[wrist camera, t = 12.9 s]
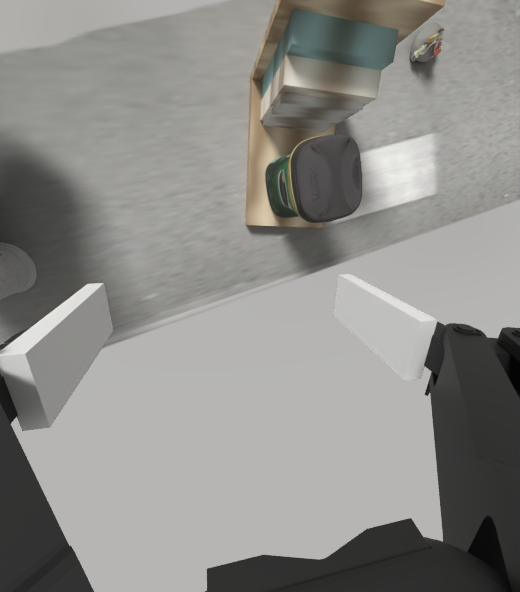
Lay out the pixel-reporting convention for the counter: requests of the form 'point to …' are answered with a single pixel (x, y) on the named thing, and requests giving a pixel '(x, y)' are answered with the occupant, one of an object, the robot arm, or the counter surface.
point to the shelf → (317, 78)
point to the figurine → (427, 43)
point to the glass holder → (15, 270)
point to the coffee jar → (316, 180)
